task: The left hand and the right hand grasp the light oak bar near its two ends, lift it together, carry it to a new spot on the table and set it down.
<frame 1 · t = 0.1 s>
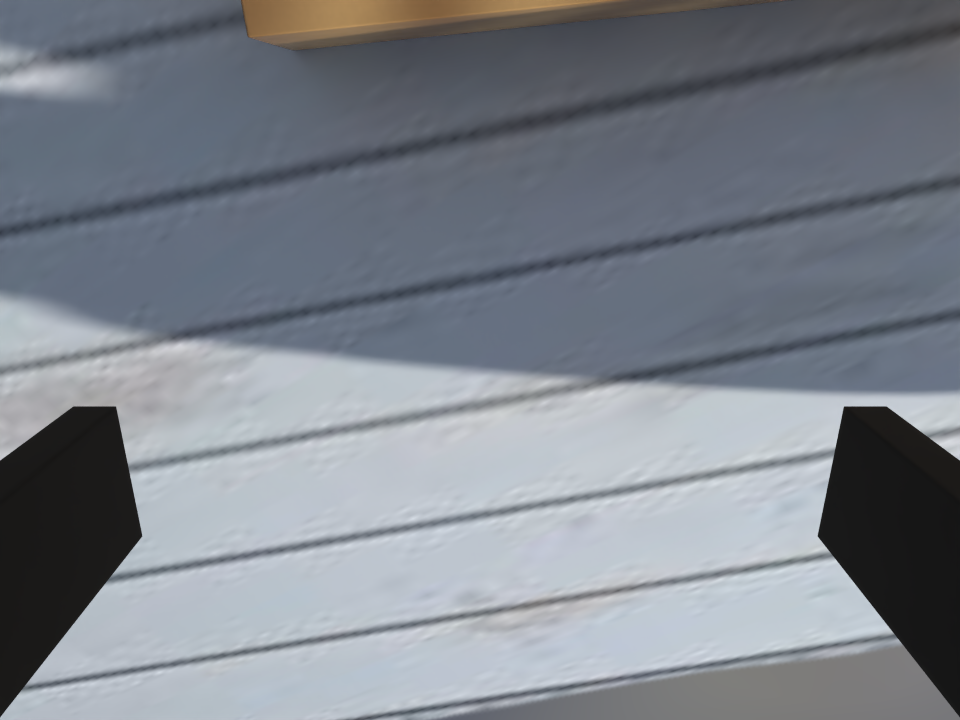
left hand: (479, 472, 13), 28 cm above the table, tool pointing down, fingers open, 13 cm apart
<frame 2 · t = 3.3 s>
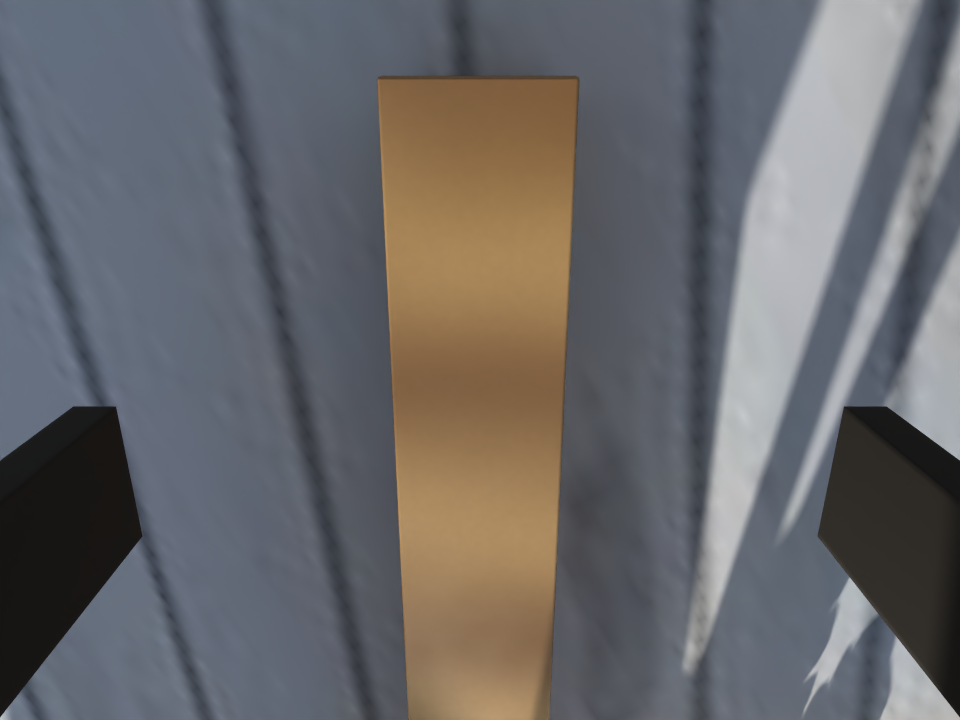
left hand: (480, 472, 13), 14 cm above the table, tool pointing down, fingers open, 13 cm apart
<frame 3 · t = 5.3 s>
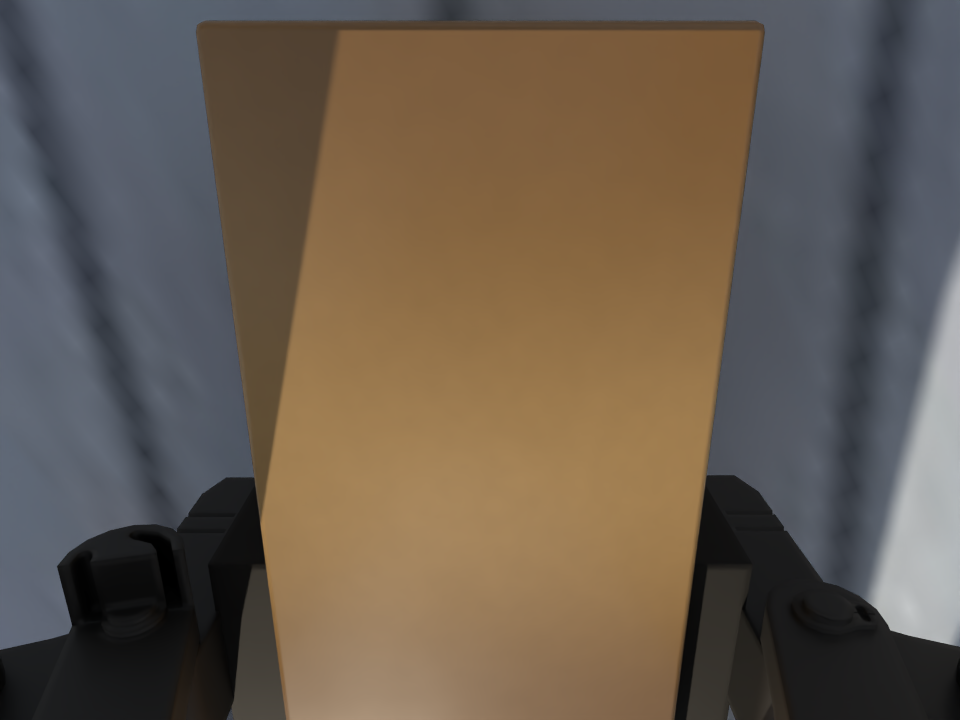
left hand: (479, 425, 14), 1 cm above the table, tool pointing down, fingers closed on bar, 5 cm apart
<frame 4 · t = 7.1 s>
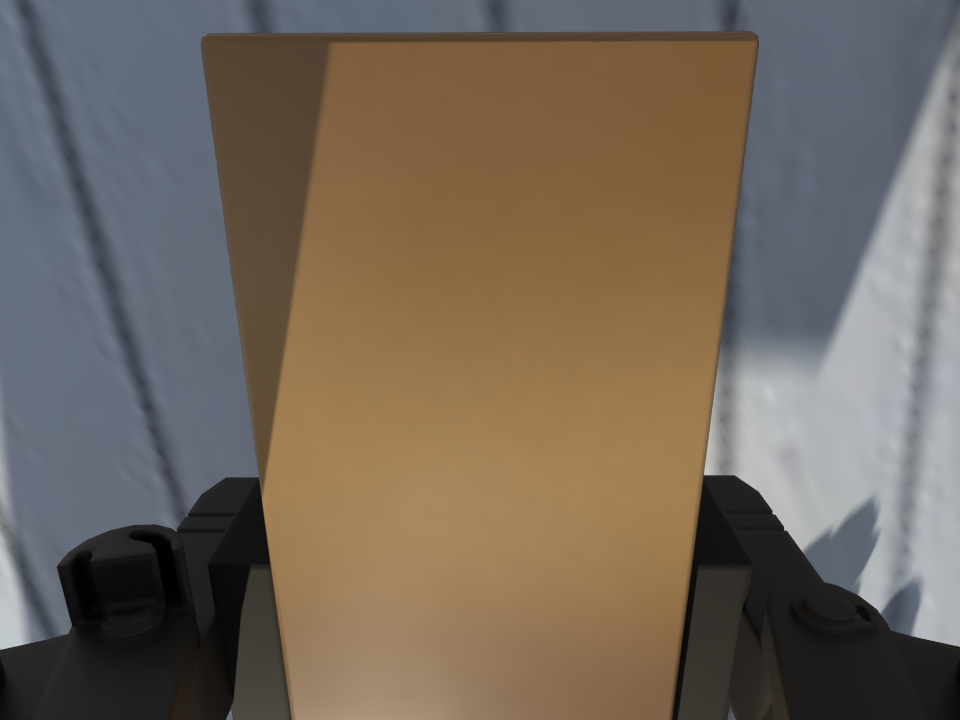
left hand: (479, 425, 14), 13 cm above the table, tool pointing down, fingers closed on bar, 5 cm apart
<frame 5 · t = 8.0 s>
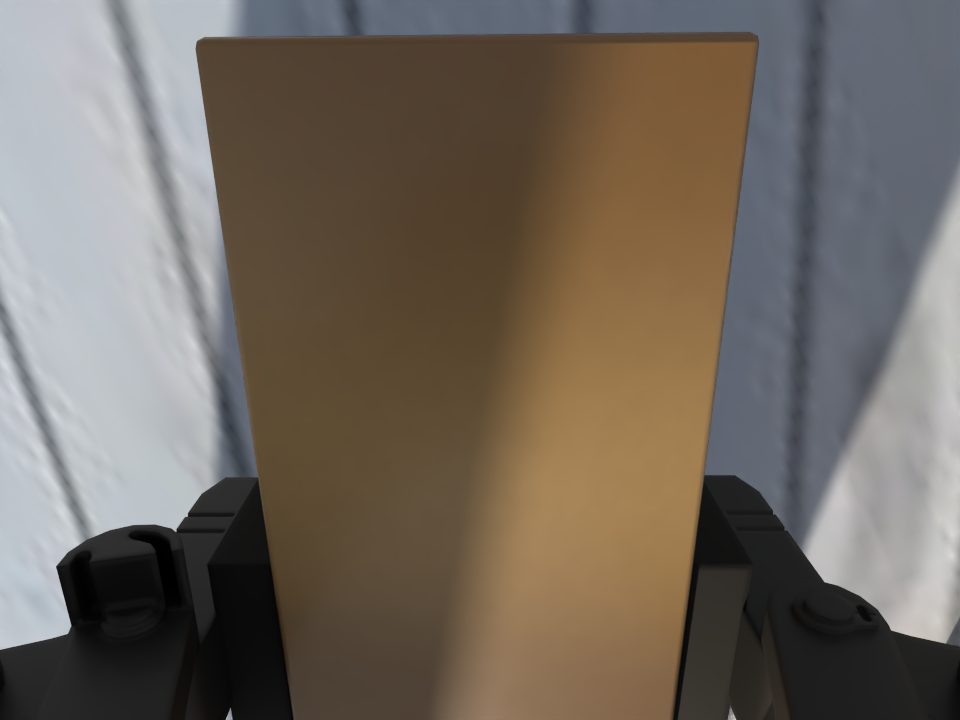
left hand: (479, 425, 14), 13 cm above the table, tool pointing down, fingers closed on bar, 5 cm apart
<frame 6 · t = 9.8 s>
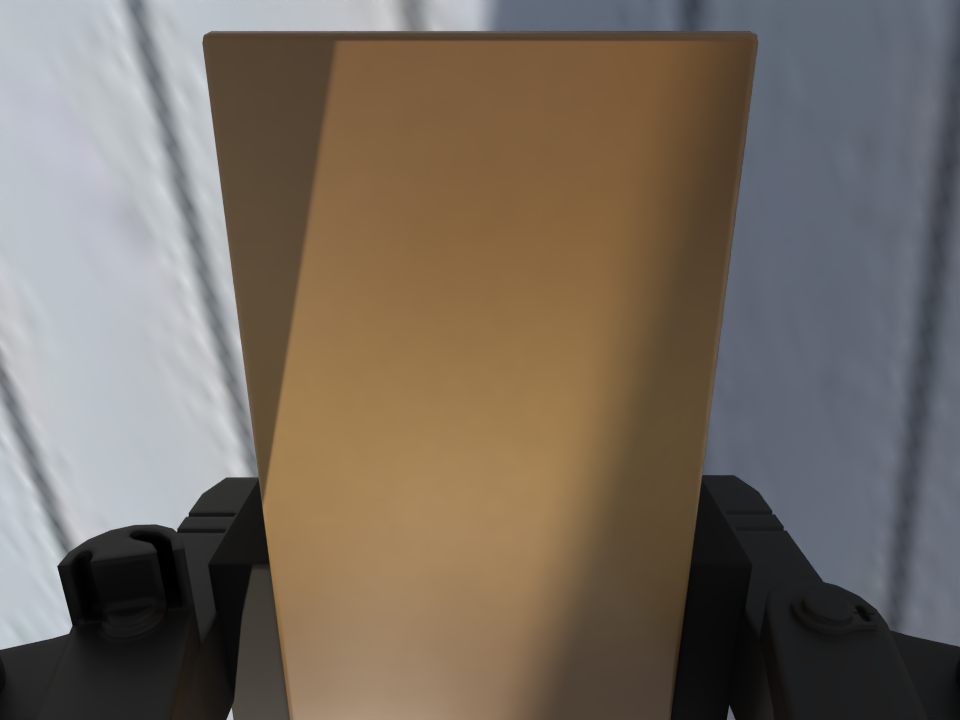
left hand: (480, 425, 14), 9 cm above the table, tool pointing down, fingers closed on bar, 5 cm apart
when the left hand's fingers open (2 cm above the table, at t = 10.9 s): bar drops 2 cm, on the table.
when the right hand's fingers open (2 cm above the table, at t = 10.9 s): bar drops 2 cm, on the table.
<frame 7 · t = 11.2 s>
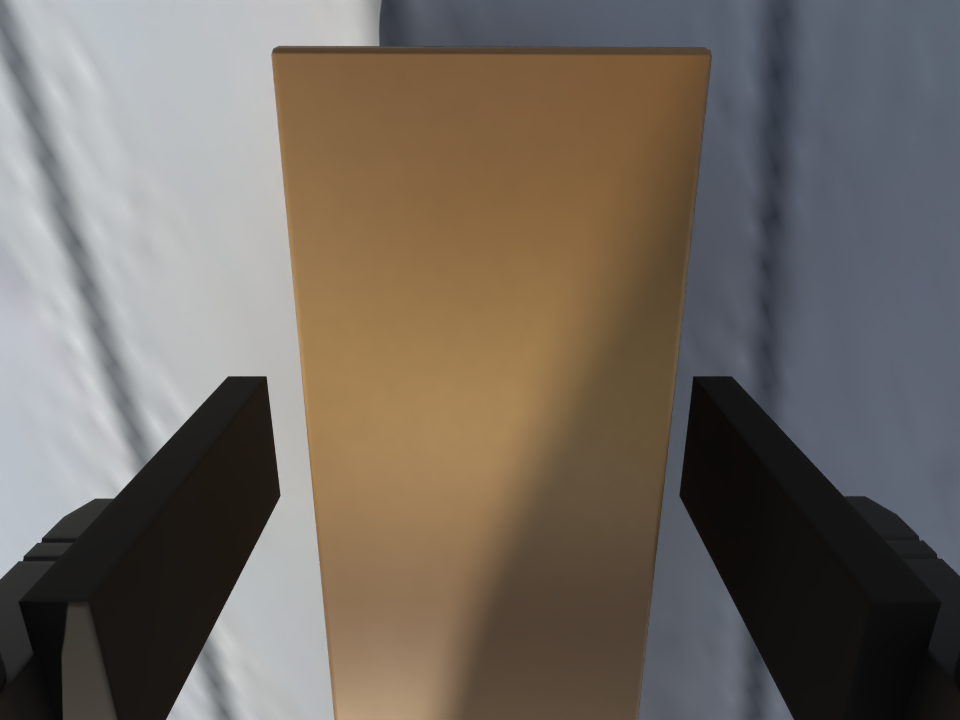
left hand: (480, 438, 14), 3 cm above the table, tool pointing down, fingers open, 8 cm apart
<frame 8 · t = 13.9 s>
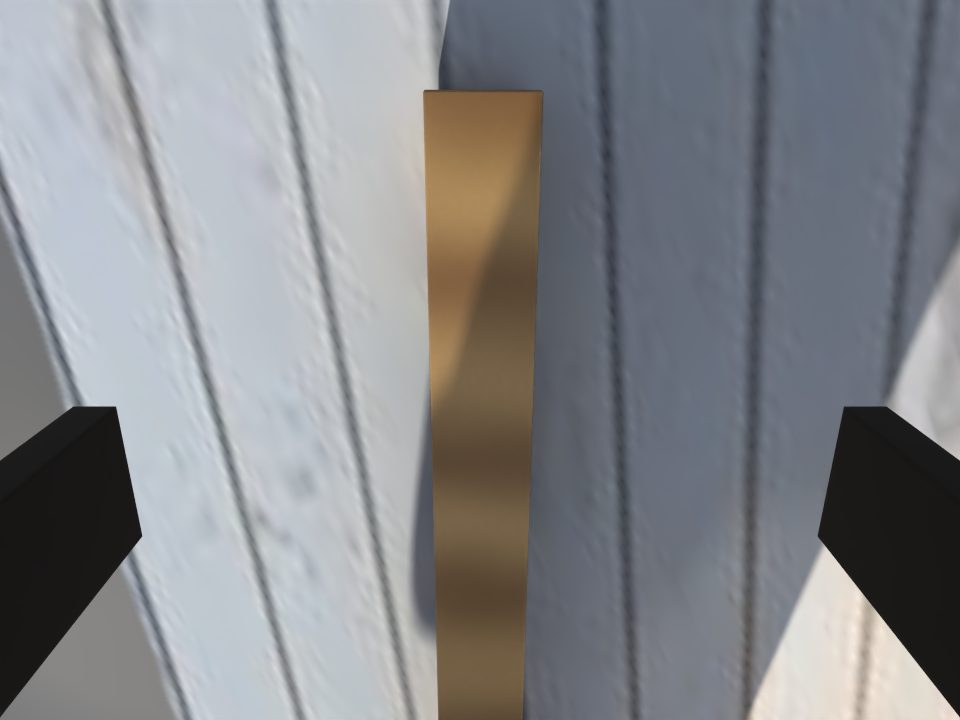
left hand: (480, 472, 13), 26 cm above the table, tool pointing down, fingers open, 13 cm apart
bar: (480, 637, 46), on the table
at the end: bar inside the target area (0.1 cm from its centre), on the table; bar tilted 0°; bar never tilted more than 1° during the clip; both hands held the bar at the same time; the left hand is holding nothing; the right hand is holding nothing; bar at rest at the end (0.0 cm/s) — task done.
